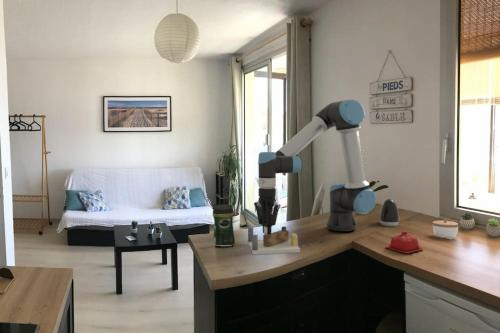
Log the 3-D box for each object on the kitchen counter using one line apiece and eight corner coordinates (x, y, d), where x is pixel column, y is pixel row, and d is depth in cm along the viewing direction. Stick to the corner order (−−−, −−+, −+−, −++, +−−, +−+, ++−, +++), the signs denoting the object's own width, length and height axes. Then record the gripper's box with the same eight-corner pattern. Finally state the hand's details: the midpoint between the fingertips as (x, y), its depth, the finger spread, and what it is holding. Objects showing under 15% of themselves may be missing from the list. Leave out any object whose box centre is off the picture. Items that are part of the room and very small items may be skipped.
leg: (283, 239, 176) (283, 226, 175) (288, 240, 173) (288, 226, 173) (263, 245, 165) (263, 231, 165) (268, 246, 163) (268, 232, 163)
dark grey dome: (401, 226, 209) (401, 198, 208) (397, 229, 200) (397, 200, 199) (382, 224, 214) (382, 197, 214) (377, 227, 206) (377, 199, 205)
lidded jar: (457, 237, 182) (457, 217, 182) (458, 242, 172) (459, 222, 172) (432, 235, 187) (432, 216, 186) (432, 240, 177) (432, 220, 176)
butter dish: (406, 256, 154) (406, 235, 154) (383, 249, 164) (384, 229, 164) (425, 251, 160) (425, 231, 160) (401, 245, 170) (402, 226, 170)
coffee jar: (233, 242, 178) (232, 202, 177) (236, 247, 170) (235, 205, 169) (212, 244, 176) (211, 203, 175) (214, 248, 168) (213, 206, 167)
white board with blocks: (290, 241, 178) (290, 225, 178) (300, 252, 161) (300, 234, 160) (247, 243, 176) (247, 227, 176) (252, 254, 158) (252, 236, 158)
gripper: (250, 187, 168) (250, 240, 169) (274, 189, 160) (274, 245, 161) (260, 185, 174) (260, 237, 175) (284, 187, 166) (284, 241, 167)
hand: (267, 241), depth 168 cm, fingers closed
